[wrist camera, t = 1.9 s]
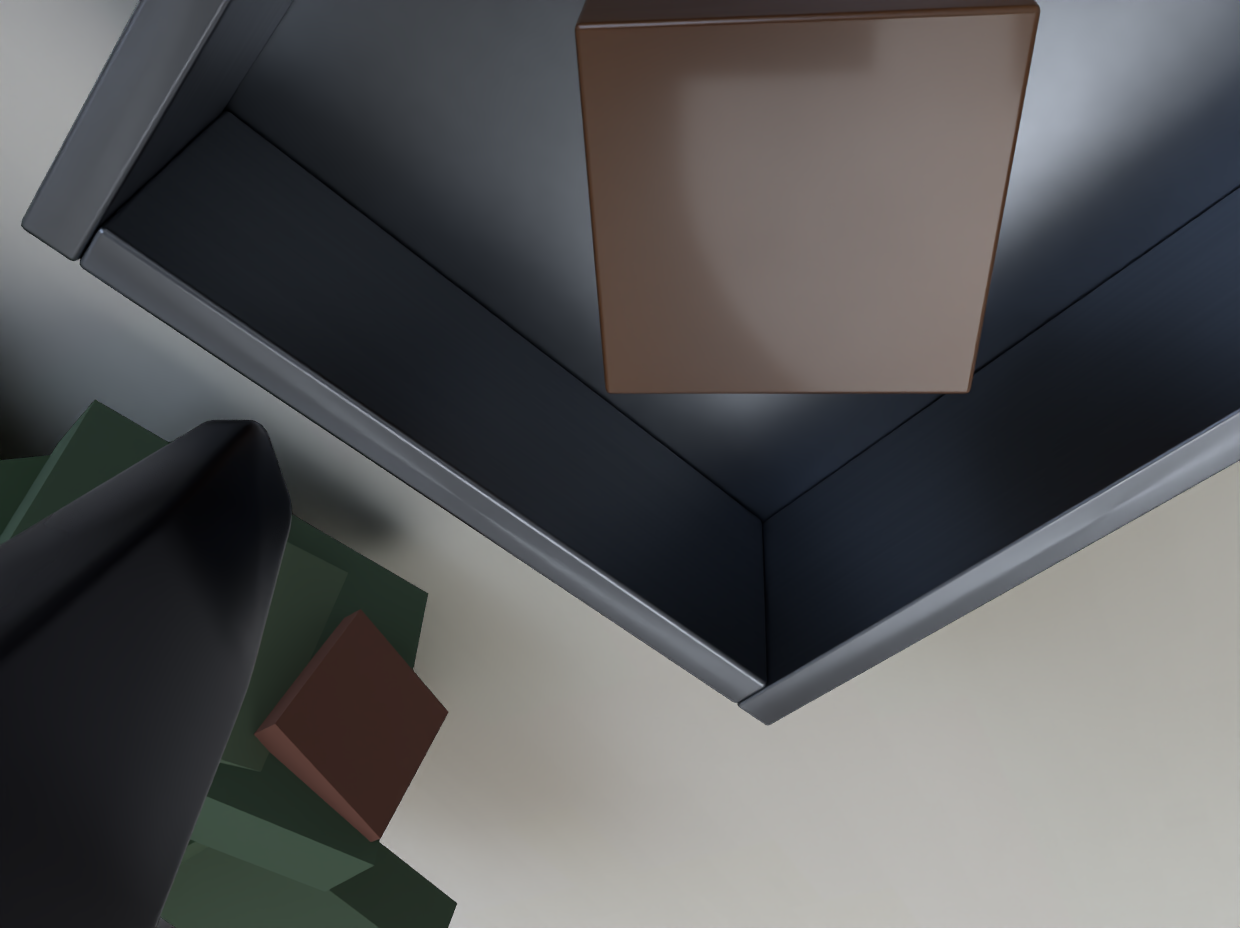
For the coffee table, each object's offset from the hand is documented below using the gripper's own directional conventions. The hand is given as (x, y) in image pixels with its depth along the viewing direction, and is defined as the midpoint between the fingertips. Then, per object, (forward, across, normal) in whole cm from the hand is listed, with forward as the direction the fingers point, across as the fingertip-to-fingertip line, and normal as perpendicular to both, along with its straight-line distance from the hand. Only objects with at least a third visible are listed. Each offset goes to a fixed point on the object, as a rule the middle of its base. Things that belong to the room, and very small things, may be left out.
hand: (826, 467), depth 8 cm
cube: (+8, 0, 0) cm, 9 cm away
